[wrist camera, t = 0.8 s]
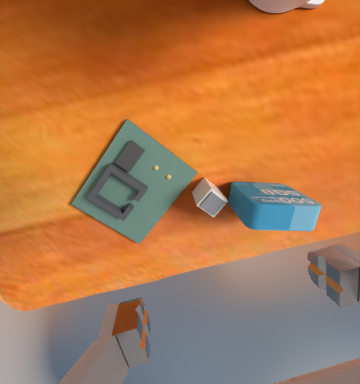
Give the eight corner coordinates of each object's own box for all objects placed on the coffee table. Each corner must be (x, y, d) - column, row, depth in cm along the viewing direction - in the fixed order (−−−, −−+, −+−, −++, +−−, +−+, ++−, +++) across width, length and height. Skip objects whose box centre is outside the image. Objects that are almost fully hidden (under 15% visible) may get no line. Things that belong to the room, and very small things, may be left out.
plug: (203, 177, 40) (212, 189, 33) (220, 189, 42) (231, 203, 35) (191, 191, 41) (197, 206, 34) (207, 203, 42) (216, 220, 36)
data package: (283, 183, 42) (327, 206, 31) (278, 202, 44) (318, 232, 32) (228, 181, 41) (253, 204, 30) (225, 201, 43) (247, 230, 31)
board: (128, 119, 36) (124, 119, 33) (196, 171, 40) (199, 175, 37) (73, 202, 40) (66, 208, 37) (139, 240, 44) (138, 249, 41)
